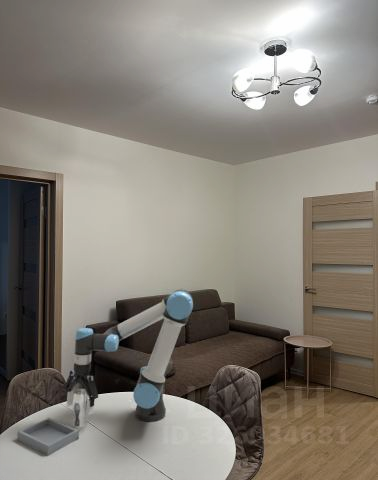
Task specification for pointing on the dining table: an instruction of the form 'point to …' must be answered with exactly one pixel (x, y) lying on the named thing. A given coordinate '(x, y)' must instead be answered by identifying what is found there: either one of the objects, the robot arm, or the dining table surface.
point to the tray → (48, 436)
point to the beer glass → (80, 408)
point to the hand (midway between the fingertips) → (79, 409)
